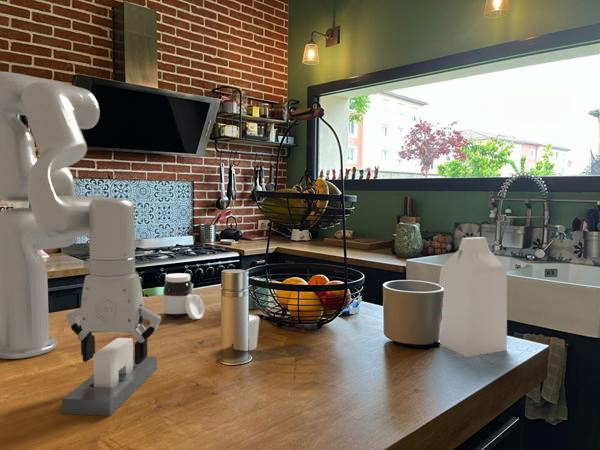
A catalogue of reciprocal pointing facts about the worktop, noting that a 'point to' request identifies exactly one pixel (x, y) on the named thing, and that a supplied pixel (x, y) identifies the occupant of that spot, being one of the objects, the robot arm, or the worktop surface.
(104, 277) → the robot arm
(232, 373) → the worktop surface
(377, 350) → the worktop surface
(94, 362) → the clip
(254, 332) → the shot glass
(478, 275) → the milk
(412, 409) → the worktop surface
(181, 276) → the spread jar
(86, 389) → the grey slotted base
